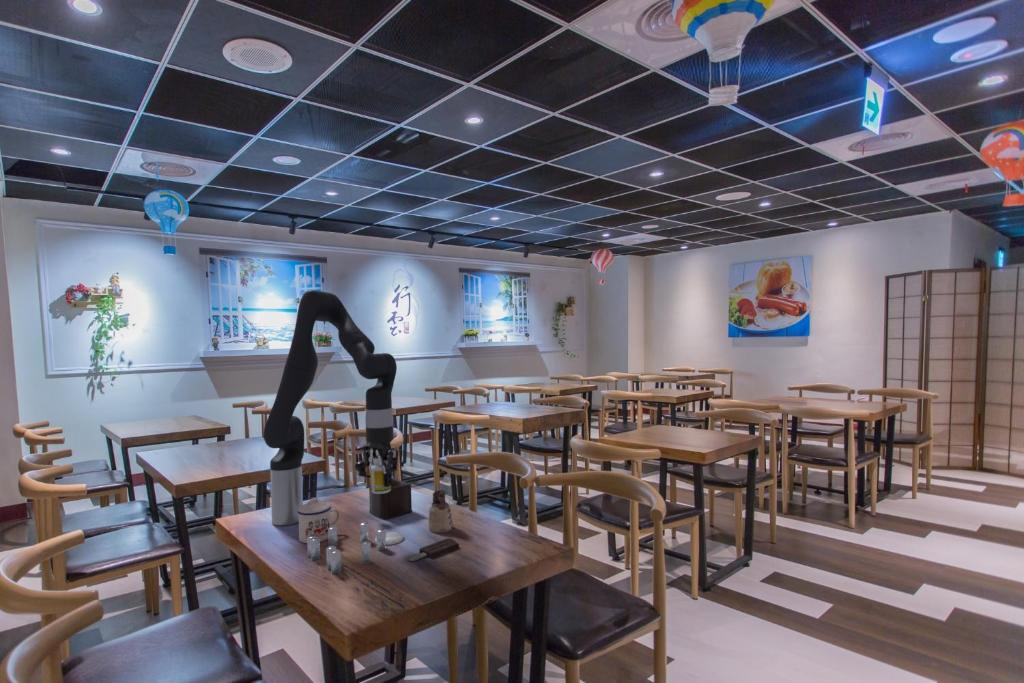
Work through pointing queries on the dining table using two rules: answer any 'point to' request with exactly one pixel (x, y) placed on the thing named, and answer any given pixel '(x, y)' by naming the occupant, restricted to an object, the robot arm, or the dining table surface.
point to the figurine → (440, 513)
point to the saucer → (392, 538)
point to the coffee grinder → (388, 497)
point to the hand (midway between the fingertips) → (381, 484)
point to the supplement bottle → (378, 478)
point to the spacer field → (335, 555)
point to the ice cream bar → (436, 549)
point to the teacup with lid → (315, 519)
